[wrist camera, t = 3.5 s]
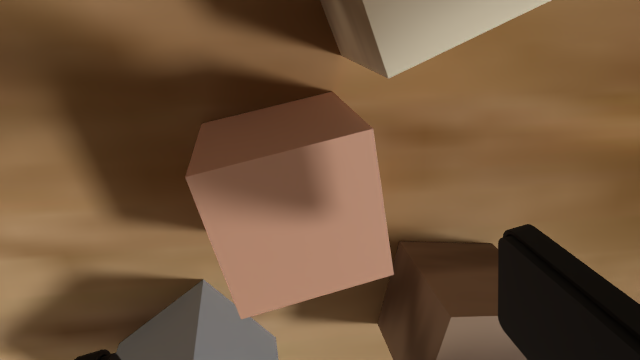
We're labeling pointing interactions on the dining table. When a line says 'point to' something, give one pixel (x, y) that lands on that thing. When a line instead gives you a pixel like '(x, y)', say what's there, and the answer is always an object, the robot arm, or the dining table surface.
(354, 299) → the dining table surface
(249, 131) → the terracotta block
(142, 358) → the slate block
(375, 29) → the beech block
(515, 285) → the robot arm
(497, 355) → the walnut block
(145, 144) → the dining table surface
